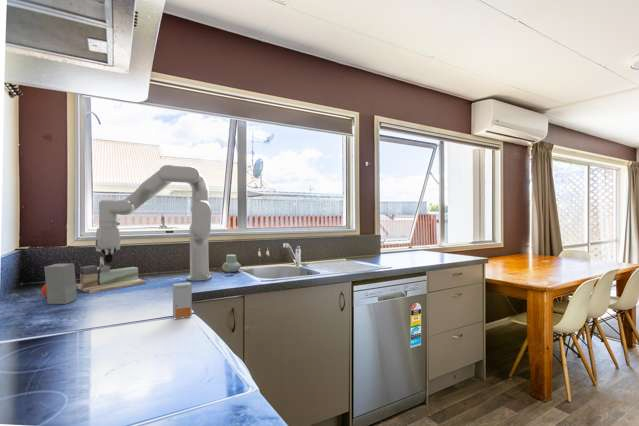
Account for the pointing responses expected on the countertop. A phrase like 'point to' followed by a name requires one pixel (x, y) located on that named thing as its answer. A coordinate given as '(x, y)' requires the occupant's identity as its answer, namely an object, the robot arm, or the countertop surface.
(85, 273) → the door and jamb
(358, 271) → the countertop surface
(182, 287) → the skincare box
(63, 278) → the skincare box
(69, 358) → the countertop surface
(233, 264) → the air freshener
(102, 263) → the bolt
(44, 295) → the clementine
